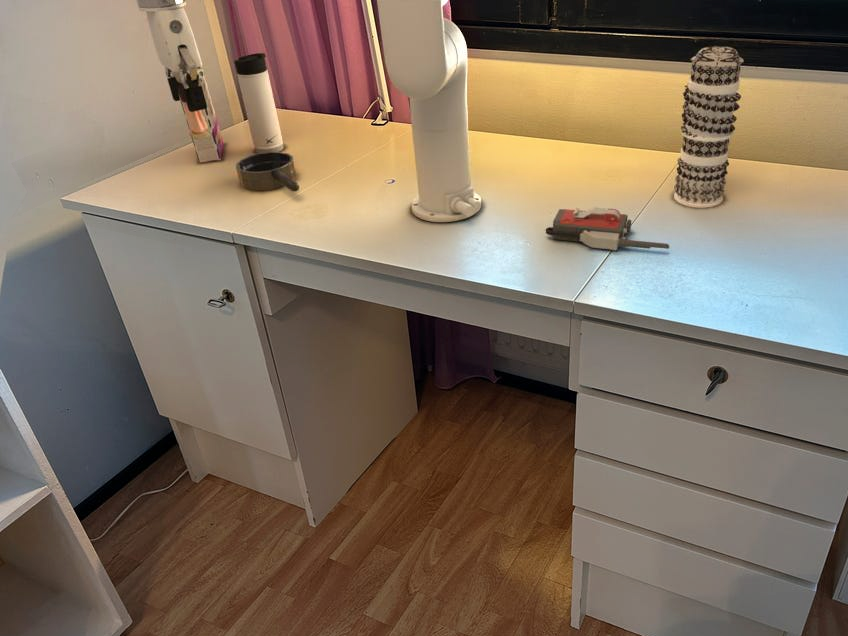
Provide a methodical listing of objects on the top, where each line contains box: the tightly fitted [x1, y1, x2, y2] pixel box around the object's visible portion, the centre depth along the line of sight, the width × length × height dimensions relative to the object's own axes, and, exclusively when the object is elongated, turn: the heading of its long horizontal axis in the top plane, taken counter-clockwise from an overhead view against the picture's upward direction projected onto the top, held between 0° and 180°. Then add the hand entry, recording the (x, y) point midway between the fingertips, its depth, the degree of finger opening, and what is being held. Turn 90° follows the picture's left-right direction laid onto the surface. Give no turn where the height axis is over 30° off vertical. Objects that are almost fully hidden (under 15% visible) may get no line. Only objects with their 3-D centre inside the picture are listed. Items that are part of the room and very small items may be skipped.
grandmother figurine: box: [170, 67, 210, 139], centre depth 131 cm, size 8×4×13 cm, turn 47°
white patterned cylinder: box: [673, 45, 744, 209], centre depth 123 cm, size 9×9×25 cm
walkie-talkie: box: [545, 206, 670, 251], centre depth 118 cm, size 9×4×20 cm
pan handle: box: [273, 170, 300, 193], centre depth 139 cm, size 10×2×2 cm, turn 36°
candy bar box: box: [180, 69, 224, 164], centre depth 156 cm, size 11×5×16 cm, turn 13°
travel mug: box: [234, 52, 285, 154], centre depth 156 cm, size 6×7×20 cm
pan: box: [235, 151, 297, 192], centre depth 146 cm, size 11×11×4 cm
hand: (190, 104), depth 131 cm, fingers closed on grandmother figurine, 8 cm apart
